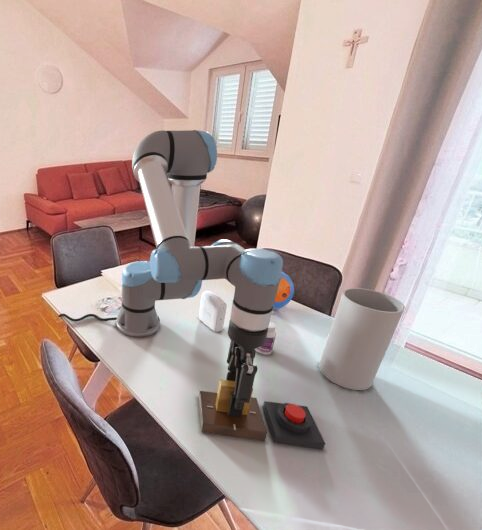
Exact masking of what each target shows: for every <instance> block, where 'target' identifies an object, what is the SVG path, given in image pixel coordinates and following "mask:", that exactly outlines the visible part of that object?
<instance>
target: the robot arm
mask: <svg viewBox="0 0 482 530" xmlns="http://www.w3.org/2000/svg"><path fill="white" fill-rule="evenodd" d="M217 147H218V146H217V143H216V140H215V138H214V136H213V135H212V133H210V132H209V131H207V130H196V129H193V130H190V129H189V130H163V129H162V130H156V131H153V132H151V133H150V134H147V135H146V136H145V137H144V138H143V139H142V140H141V141H140V142H139V143H138V144H137V146H136V148H135V150H134V151H133V155H132V159H131V169H132V174H133V177H134V179H135V180H136V181H137V182H138V183H139V186H140V190H141V193H142V194H141V195H142V197H143V201H144V205H145V209H146V214H147V217H148V221H149V225H150V229H151V232H152V236H153V240H154V245H155V248H156V249H153V250H152V251H151V253H150V257H149V261H147V260H139V261H134V262H131V263H129V264H128V265H127V266H126V265H125V267H124V268H123V270H122V273H121V274H122V275H121V282H120V283H121V306H120V309H119V312H118V314H117V317H107V318H106V317H105V318H103V317H100V316H99V315H98V314H95V313H87V314H85V315H83V316H81V317H79V318H72V317H70V316H69V315H68V314H66V313H60V314H58V316H57V317H58V318H61V317H64V318H66V319H67V320H69V321H71V322H80V321H83V320H85V319H86V318H88V317H90V318H91V317H94V318H95V319H97V320H98V321H101V322H108V321H116V323H115V324H116V328H117V330H118V331H119V332H120V333H121V334H123V335H125V336H128V337H131V338H146V337H150V336H153V335H154V334H156V333H157V332H158V330H159V326H160V321H161V319H160V316H159V315H158V314H157V310H156V301H169V300H180V299H181V300H186V299H189V298H190V299H191V298H194V297H196V296H197V295H199V293H200V292H201V289H202V285H203V281H210V280H226V281H227V282H229V284H231V285H232V286H233V287H234V294H233V300H232V303H231V308H230V315H229V316H230V317H229V322H228V327H227V336H228V338H229V339H230V344H229V348H228V352H227V358H226V364H228V366H227V373H226V378H225V380H229V381H235V389H234V392H232V393H230V394H231V402H230V407H229V411H228V415H229V416H233V417H240V418H241V416H242V411H243V407H244V403H249V402H250V397H252V396H251V392H252V388H253V387H254V382H255V377H256V375H257V372H258V369H259V368H258V365H255V364H254V359H255V358H256V352H257V351H256V350H255V349H256V348H258V347H260V346H262V345H263V344H264V343H265V341H266V336H267V332H268V326H269V323H270V322H271V318H272V315H275V311H274V309H273V306H274V302H275V298H276V294H277V290H278V286H279V282H280V280H281V272H283V265H284V259H283V258H282V256H281V255H280V254H278V253H277V252H276V251H271V250H269V249H265V248H247V249H245V248H244V247H243V246H241V245H240V244H239V243H236V242H234V241H232V240H229V239H224V238H223V239H218V240H217V241H215V242H213V243H212V244H210V245H205V246H195V241H196V233H197V222H198V213H199V203H200V194H201V185H203V183H204V182H206V181H207V178H208V174H209V173H212V172H213V171H214V170H215V167H216V166H217V163H218V162H217V161H218V149H217ZM252 393H253V392H252Z"/></svg>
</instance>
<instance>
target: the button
mask: <svg viewBox="0 0 482 530" xmlns="http://www.w3.org/2000/svg"><path fill="white" fill-rule="evenodd" d="M298 405H299V404H298ZM298 405H297V404H295V403H290V404H288V405H287V406H286V409H285V416H286V418H287V419H289V420H290V421H292V422H294V423H298V424H300V423H303V422H304V419H305V416H306V413H305V411H304V410H303V409H302V408H301V407H300V406H301V405H299V406H298Z"/></svg>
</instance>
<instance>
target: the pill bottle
mask: <svg viewBox="0 0 482 530" xmlns="http://www.w3.org/2000/svg"><path fill="white" fill-rule="evenodd" d="M276 338H277V332H276V324H275V323H273V322H271V321H270V323H269V326H268V332H267V336H266V341H265V343H264V344H263V345H262V346H260V347H258V348H256V349H255V351H256V352H257V353H259V354H261V355H264V356H265V355H267V356H268V355H271V354H272V352H273V349H274V344H275V341H276Z"/></svg>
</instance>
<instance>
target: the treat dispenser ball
mask: <svg viewBox="0 0 482 530" xmlns="http://www.w3.org/2000/svg"><path fill="white" fill-rule="evenodd" d="M294 285H295V284H294V282H293V281H292V279H291V277H290V276H289V275H288V274H286V273H285V272H284V271H282V272H281V280H280V282H279V286H278V290H277V294H276V298H275V302H274V306H273V310H277V309H280V308H283V307H286V306H287V305H288V304H289V303H290V302H291V300H292V299H293V297H294V294H295V286H294Z"/></svg>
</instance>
